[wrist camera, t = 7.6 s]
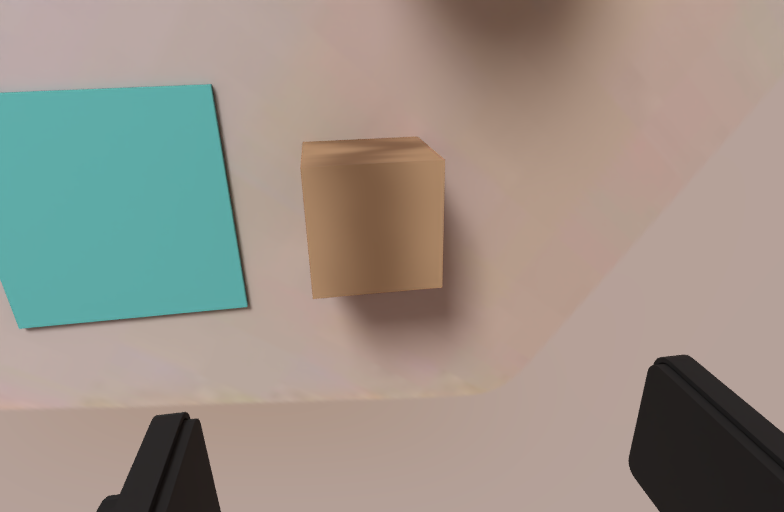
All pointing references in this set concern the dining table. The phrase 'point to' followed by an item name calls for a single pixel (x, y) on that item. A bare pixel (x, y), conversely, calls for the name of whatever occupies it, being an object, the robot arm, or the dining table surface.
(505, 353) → the dining table surface
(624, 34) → the dining table surface
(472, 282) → the dining table surface
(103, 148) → the teal mat
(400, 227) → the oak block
